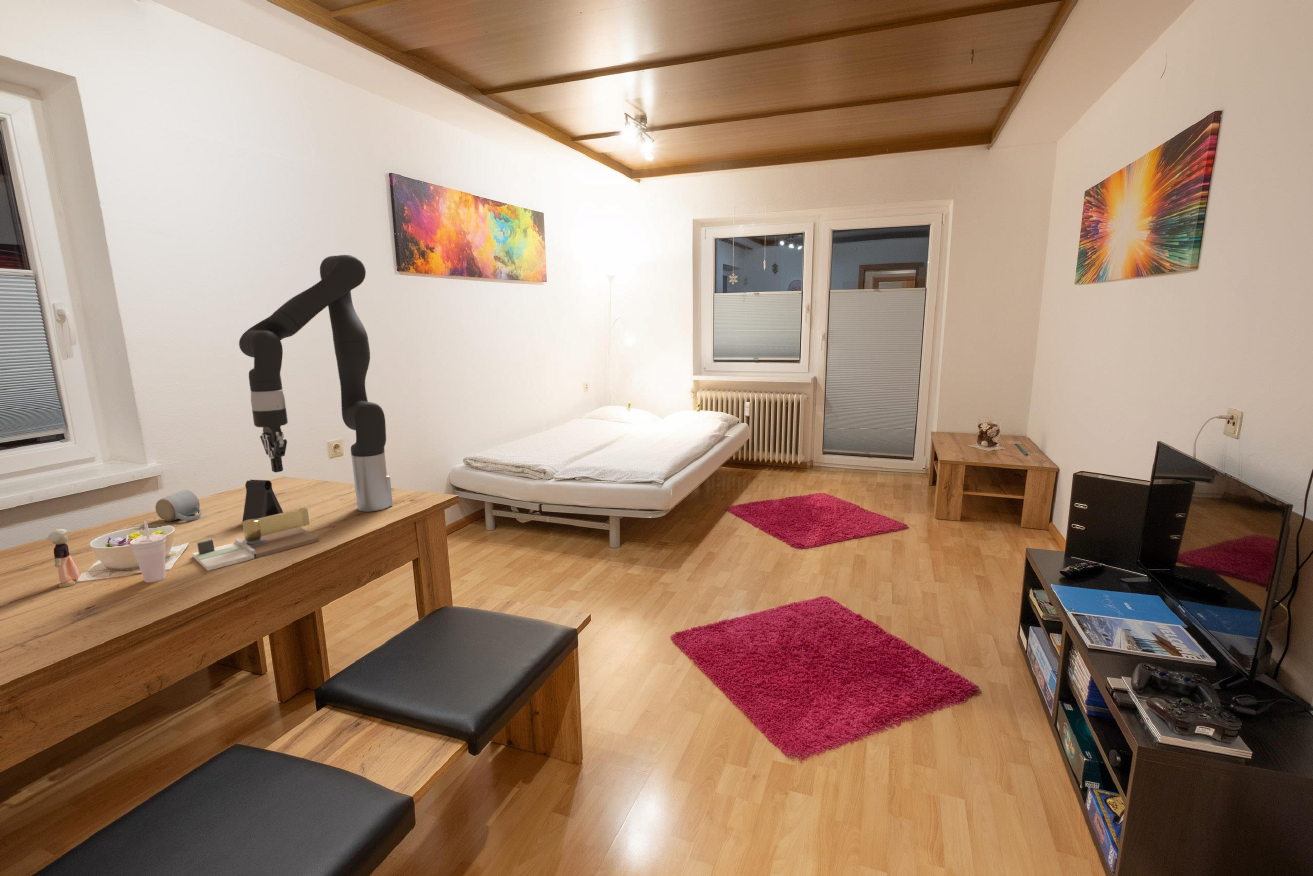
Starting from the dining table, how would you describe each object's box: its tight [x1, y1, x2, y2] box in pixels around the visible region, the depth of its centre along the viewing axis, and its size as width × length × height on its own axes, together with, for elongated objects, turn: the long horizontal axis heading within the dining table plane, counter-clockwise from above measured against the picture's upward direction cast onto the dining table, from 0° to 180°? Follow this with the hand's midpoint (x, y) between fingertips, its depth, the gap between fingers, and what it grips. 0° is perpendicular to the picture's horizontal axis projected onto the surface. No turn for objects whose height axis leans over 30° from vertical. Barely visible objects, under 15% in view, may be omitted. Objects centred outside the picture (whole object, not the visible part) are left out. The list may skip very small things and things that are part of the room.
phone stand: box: [241, 479, 284, 523], centre depth 176 cm, size 9×6×12 cm, turn 171°
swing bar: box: [241, 506, 311, 541], centre depth 159 cm, size 15×4×5 cm, turn 139°
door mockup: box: [191, 527, 320, 571], centre depth 154 cm, size 24×13×4 cm, turn 139°
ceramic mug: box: [155, 489, 202, 522], centre depth 178 cm, size 11×8×8 cm
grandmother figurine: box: [46, 528, 81, 588], centre depth 135 cm, size 8×4×13 cm, turn 44°
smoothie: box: [129, 520, 167, 583], centre depth 136 cm, size 6×6×14 cm
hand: (277, 471), depth 162 cm, fingers closed
